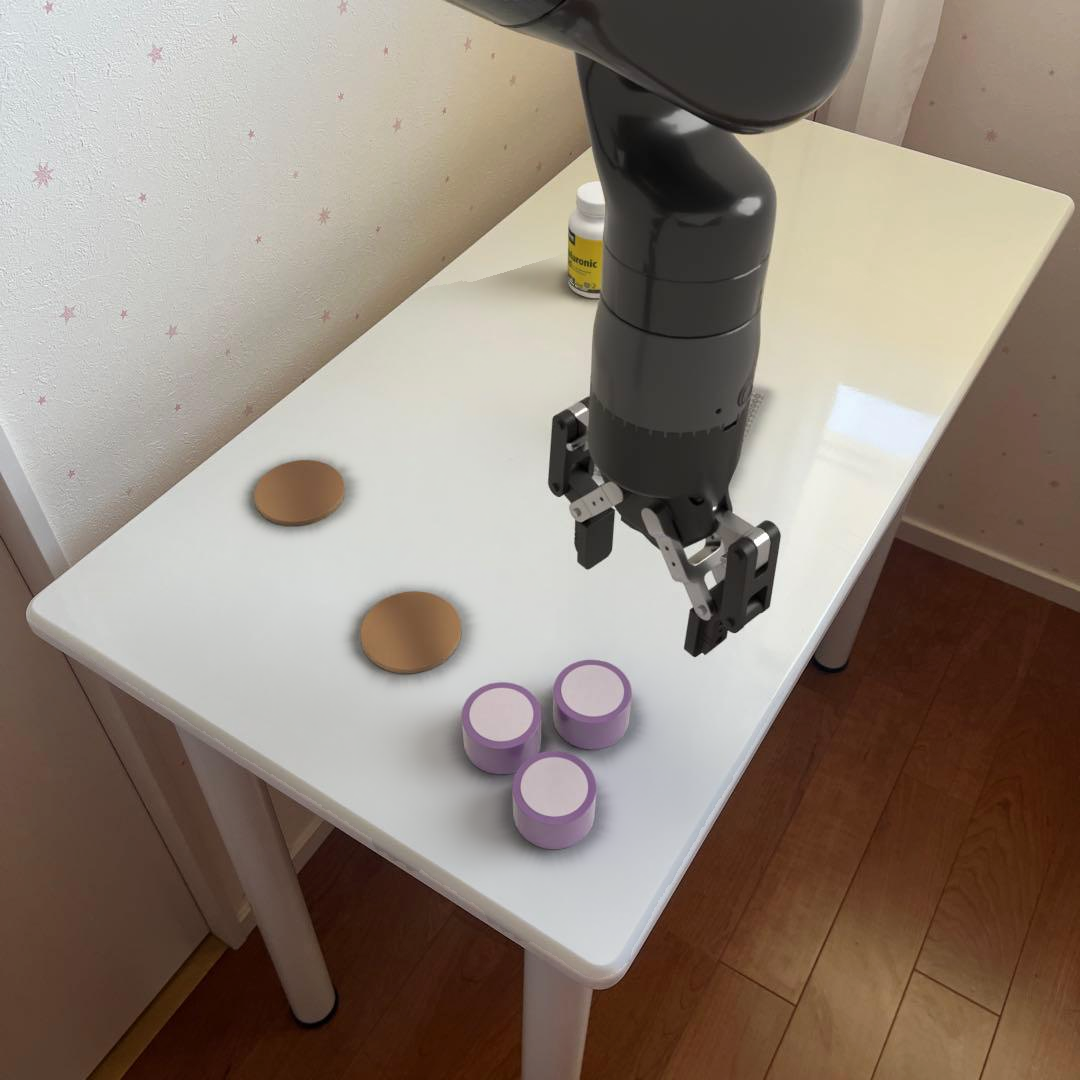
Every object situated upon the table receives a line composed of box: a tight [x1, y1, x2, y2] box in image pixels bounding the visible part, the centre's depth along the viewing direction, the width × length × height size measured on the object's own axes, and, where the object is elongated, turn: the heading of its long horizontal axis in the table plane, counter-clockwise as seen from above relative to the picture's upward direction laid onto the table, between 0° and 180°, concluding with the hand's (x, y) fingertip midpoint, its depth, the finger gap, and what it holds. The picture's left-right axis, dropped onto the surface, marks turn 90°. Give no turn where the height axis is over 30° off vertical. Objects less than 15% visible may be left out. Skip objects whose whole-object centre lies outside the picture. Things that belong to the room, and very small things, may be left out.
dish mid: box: [460, 681, 542, 775], centre depth 70 cm, size 5×5×3 cm
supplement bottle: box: [567, 180, 605, 299], centre depth 103 cm, size 5×5×10 cm
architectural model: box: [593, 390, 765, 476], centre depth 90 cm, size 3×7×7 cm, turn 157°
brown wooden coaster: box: [359, 590, 462, 675], centre depth 77 cm, size 7×7×1 cm
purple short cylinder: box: [552, 659, 633, 751], centre depth 71 cm, size 5×5×3 cm
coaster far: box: [253, 459, 346, 527], centre depth 87 cm, size 7×7×1 cm
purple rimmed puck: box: [511, 750, 597, 850], centre depth 67 cm, size 5×5×3 cm
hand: (646, 601), depth 63 cm, fingers open, 8 cm apart
